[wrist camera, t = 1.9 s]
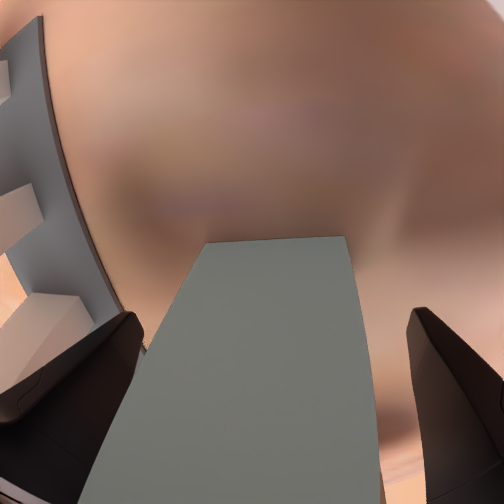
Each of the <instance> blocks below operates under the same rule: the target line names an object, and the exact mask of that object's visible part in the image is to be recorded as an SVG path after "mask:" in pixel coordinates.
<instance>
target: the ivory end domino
mask: <svg viewBox="0 0 504 504" xmlns="http://www.w3.org/2000/svg"><path fill="white" fill-rule="evenodd" d="M10 96H11V89H10V81H9V71H8V60H4V61H0V105H1V104H2V103H3V102H5V101H6V100H7V99H8V98H9V97H10Z"/></svg>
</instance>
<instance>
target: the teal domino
mask: <svg viewBox="0 0 504 504" xmlns="http://www.w3.org/2000/svg"><path fill="white" fill-rule="evenodd" d="M78 504H380V463H379V443H378V429H377V417H376V406H375V397H374V388H373V380H372V372H371V365H370V358H369V352H368V345H367V339H366V333H365V327H364V322H363V316H362V311H361V306H360V301H359V296H358V291H357V286H356V282H355V277H354V273H353V268H352V264H351V260H350V256H349V252H348V247H347V243H346V240H345V236H328V237H307V238H288V239H269V240H251V241H234V242H217V243H205V245H204V247H203V249H202V250H201V252H200V254H199V256H198V257H197V259H196V261H195V263H194V264H193V266H192V268H191V270H190V271H189V273H188V275H187V277H186V279H185V280H184V282H183V284H182V286H181V288H180V290H179V291H178V293H177V295H176V297H175V299H174V301H173V302H172V304H171V306H170V308H169V310H168V312H167V314H166V315H165V317H164V319H163V321H162V323H161V325H160V327H159V329H158V331H157V332H156V334H155V336H154V338H153V340H152V342H151V344H150V346H149V348H148V350H147V352H146V354H145V356H144V358H143V360H142V362H141V364H140V366H139V368H138V370H137V372H136V374H135V376H134V378H133V380H132V382H131V384H130V386H129V388H128V390H127V392H126V394H125V396H124V398H123V400H122V403H121V405H120V407H119V409H118V411H117V413H116V415H115V417H114V420H113V422H112V424H111V426H110V428H109V430H108V433H107V435H106V437H105V439H104V442H103V444H102V446H101V448H100V451H99V453H98V455H97V457H96V460H95V462H94V464H93V467H92V469H91V471H90V474H89V476H88V479H87V481H86V484H85V486H84V488H83V491H82V493H81V496H80V498H79V501H78Z"/></svg>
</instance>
